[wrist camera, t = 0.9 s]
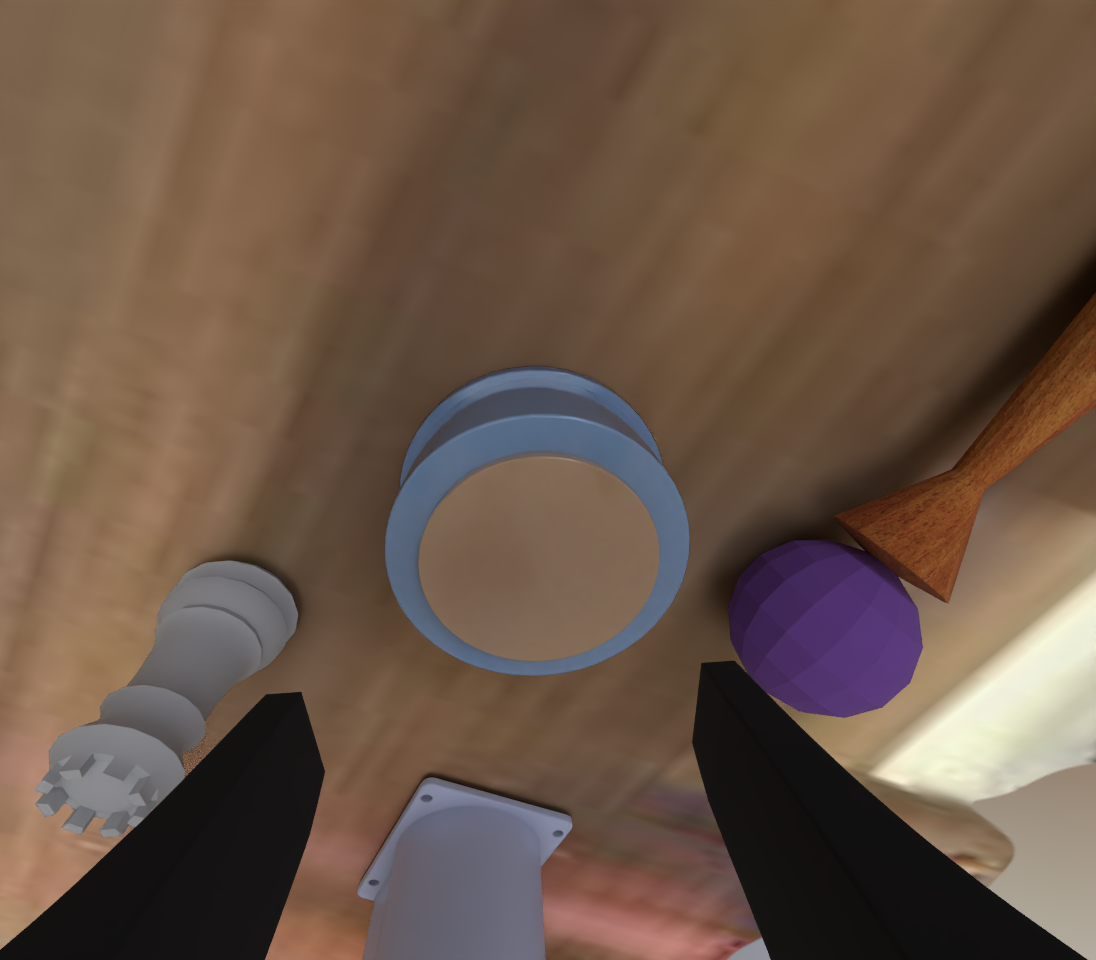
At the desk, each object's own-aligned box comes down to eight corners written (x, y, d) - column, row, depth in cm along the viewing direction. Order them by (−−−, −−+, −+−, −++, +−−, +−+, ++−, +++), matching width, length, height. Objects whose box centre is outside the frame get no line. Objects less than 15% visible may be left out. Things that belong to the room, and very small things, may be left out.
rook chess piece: (250, 665, 21) (117, 882, 14) (154, 597, 20) (-52, 802, 13) (327, 607, 21) (227, 806, 13) (232, 531, 19) (59, 710, 12)
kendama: (1418, 290, 14) (858, 773, 18) (1142, 267, 19) (756, 648, 23) (1429, 108, 11) (764, 730, 15) (1102, 139, 16) (670, 599, 20)
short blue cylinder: (582, 630, 22) (601, 727, 17) (364, 547, 20) (322, 634, 15) (711, 439, 19) (772, 499, 14) (468, 314, 16) (453, 338, 12)
